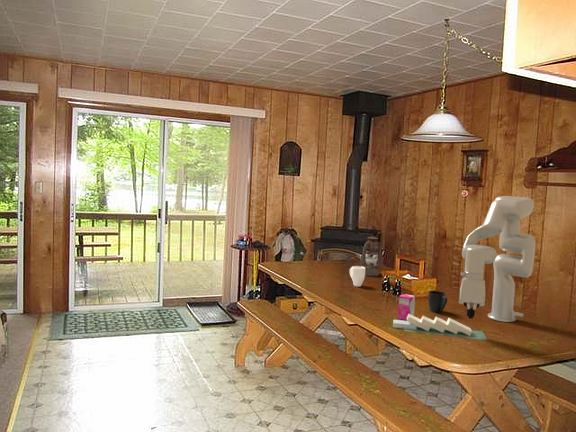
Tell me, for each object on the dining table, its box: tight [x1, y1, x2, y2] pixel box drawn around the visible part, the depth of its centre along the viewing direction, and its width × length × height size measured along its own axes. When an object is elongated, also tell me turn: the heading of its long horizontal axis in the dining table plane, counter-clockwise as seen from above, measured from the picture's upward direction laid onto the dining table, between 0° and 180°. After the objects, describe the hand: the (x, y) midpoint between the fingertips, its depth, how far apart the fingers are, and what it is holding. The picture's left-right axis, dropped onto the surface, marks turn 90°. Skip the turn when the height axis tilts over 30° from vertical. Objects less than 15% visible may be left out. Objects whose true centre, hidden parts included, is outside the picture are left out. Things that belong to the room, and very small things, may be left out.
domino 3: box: [420, 315, 445, 333], centre depth 216 cm, size 2×6×10 cm
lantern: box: [360, 223, 382, 277], centre depth 335 cm, size 11×16×35 cm
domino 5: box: [446, 317, 472, 336], centre depth 213 cm, size 2×6×10 cm
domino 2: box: [407, 314, 430, 331], centre depth 217 cm, size 2×6×10 cm
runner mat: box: [403, 326, 488, 341], centre depth 215 cm, size 34×12×1 cm, turn 77°
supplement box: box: [397, 293, 416, 321], centre depth 231 cm, size 6×6×12 cm
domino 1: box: [392, 319, 417, 330], centre depth 218 cm, size 2×6×10 cm
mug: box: [427, 290, 448, 314], centre depth 247 cm, size 8×12×10 cm
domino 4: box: [433, 316, 459, 334], centre depth 214 cm, size 2×6×10 cm
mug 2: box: [349, 265, 366, 288], centre depth 300 cm, size 12×8×11 cm
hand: (470, 317), depth 212 cm, fingers closed
